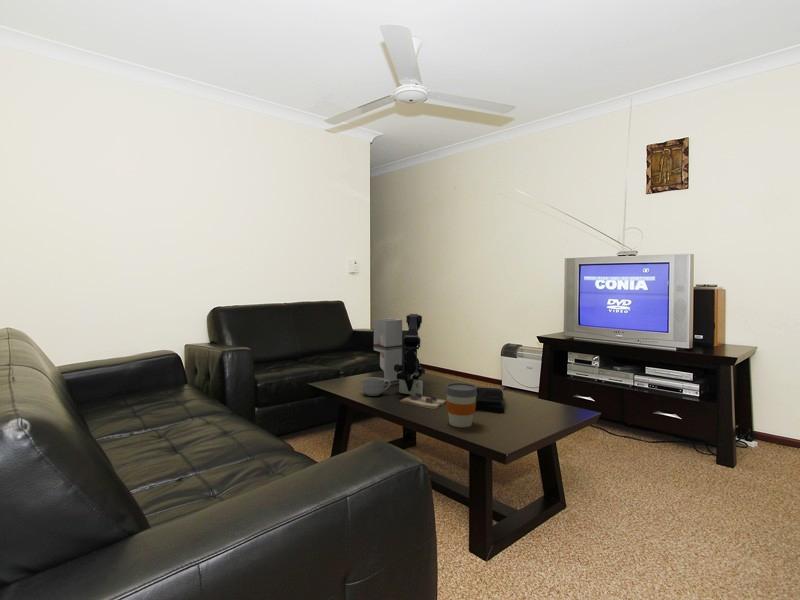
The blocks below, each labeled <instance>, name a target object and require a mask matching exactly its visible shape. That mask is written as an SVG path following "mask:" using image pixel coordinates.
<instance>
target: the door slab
mask: <svg viewBox="0 0 800 600" xmlns="http://www.w3.org/2000/svg"><path fill="white" fill-rule="evenodd" d="M423 384H424V381H423V380H420V379H419V380H414V382H413V385H412V388H411V391H408V388H407V385H406V382H405V380H401V379H399V386H398V392H399V393H400V394H406V395H407V394H408V395H410V396H411V395H415V393H418V394H421V396H424V394H423V391H424V389H423V388H424V385H423Z"/></svg>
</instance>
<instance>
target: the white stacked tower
mask: <svg viewBox="0 0 800 600" xmlns="http://www.w3.org/2000/svg"><path fill="white" fill-rule="evenodd" d="M373 351H376V352H379V366H380V369H381V370H382V371H383V376H379V377H378V378H383V379H384V381H385V380H389V381H390V382H391V385H390V386H393V385H398V384H399V379H397V374H398V373H400V372H403V371H400V372H398V373H396V371H395V370H394V365H396V364H399V365H402V363H403V361H402V360H403V319H401V318H393V317H392V318H391V317H388V318H385V317H384V318H373ZM388 385H389V383H388V382H385V384H384V387H387V386H388Z"/></svg>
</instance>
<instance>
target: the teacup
mask: <svg viewBox="0 0 800 600" xmlns="http://www.w3.org/2000/svg"><path fill="white" fill-rule="evenodd" d="M385 382H388V383H389V385H388V386H384V384H385ZM391 386H392V385H391V382H390V381H389V380H385V381H384V379H383V378H379V377H378V376H377V377H365V378H362V392H363V393H364V394H365V395H366V396H369V397H371V396H372V397H376V396H380V395H381V394H382V393H383V392H385V391H386V390H387V389H389V388H390V387H391Z"/></svg>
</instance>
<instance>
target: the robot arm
mask: <svg viewBox="0 0 800 600" xmlns="http://www.w3.org/2000/svg"><path fill="white" fill-rule="evenodd" d="M405 319H406V320H405V321H406V324H407V328H408V330H407V331H406V332H405V335H404V336H403V343H402V350H405V353H404V357H403V359H404V361H402V363H403V364H402V365H399V364H396V365H394V370H395V371H396V373H398V372H400V371H402V372H400V373H398V374H397V379H401V380H405V382H406V385H407V388H408V391H411V388H412V385H413V382H414V380H420V378H421V376H423V375H424V374H426V369H425V368H424V367H422V366H421V364H420V359H419V358H418V350H420V348H421V338H420V336H419V332H418V331H419V330H420V329H421V325H422V324H423V315H421V314H418V313H409V314H407V315H406V318H405Z"/></svg>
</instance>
